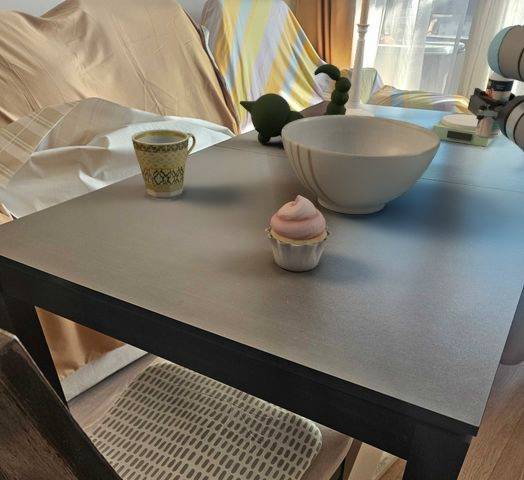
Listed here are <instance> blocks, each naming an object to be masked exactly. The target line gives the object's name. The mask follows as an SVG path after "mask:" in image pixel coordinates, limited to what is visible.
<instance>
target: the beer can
mask: <svg viewBox="0 0 524 480" xmlns="http://www.w3.org/2000/svg"><path fill="white" fill-rule="evenodd" d="M514 83H515V80H514V79H507V78H504V77H503V76H501V75H499V74H497V73H495V72H494V71H492V73H491V74H490V76H489V77H488V81H487V84H486V88H485V91H486V92H485V93H487V94H488V95H487V97H490V98H493V99H495V100H506V101H509V97H510V94H511V93H512V91H513V87H514ZM500 132H501V131H500V128H499V124H498V121H495V120H493V119H492V116H487V117H486V119H483V120H478V123H477V127H476V131H475V134H476V135H477V136H478V137H480V138H485V139H493V138H494V139H496V138H497V137H499V135H500ZM494 139H493V140H494Z"/></svg>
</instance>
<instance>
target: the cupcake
mask: <svg viewBox="0 0 524 480" xmlns="http://www.w3.org/2000/svg"><path fill="white" fill-rule="evenodd" d="M269 224H270V226H269V227H267V228H265V229H264V231H265V232H266V234H267V238H268V240H269V241H270V244H271V248H272V253H273V258H274V262H275V263H276V265H277V266H278V267H280V268H281V269H284V270H286V271H289V272H306V271H307V272H308V271H310V270H313V269H315V268H316V267H317V266H318V265H319V262H320V260H321V256H322V254H323V251H324V248H325V246H326V244H327V243H328V240H329V239H330V237H331V235H332V232H331V231H329V226H328V225H327V223H326V219H325V217H324V215H323V213H322V212H321V211H320V210H319V209H318V208H317V207H315V205H314V204H313V202H311V200H309V199H308V198H306V197H304V196H303V195H300V194H298V195H297V196H296V198H295V200H294V201H289V202H287V203H285V204H283V206H281V207H280V209H279V210H278V211H277V212H276V213H274V214H273V215H272V217H271V219H270V223H269Z"/></svg>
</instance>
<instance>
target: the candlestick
mask: <svg viewBox="0 0 524 480" xmlns="http://www.w3.org/2000/svg"><path fill="white" fill-rule="evenodd" d="M370 3H371V0H361V8H360V15H359V23H356V26H357V34H358V38H357V40H356V41H357V43H356V48H355V53H354V61H353V67H352V72H351V73H352V74H351V80H350V82H351V84H352V85H351V88H350V90H349V91H348V94H349V99H348V102H347V103H346V104H345V105H344V106H345V108H346V113H345V115H361V116H373V117H375V114H374V113H373V112H372V111H371V110H369V109H367V108H365V107H362V106H361V93H362V82H363V70H364V69H363V68H364V57H365V46H366V45H365V43H366V39H365V37H366V34H367V33H368V29H369V26H371V24H370V23H368V20H369V11H370Z"/></svg>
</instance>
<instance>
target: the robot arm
mask: <svg viewBox="0 0 524 480" xmlns="http://www.w3.org/2000/svg"><path fill="white" fill-rule="evenodd" d="M489 43H490V44H489V46H488V49H487V55H486V56H487V57H486V58H487V65H488V66H489V69H491V71H492V72H495V73H497V74H499V75H501V76H503V77H504V78H507V79H514V81H517V82H521V83H524V24H516V25H514V24H513V25H509V26H506V27H504V28H502V29H500V30H499V31H498V32H497V33H496V34H495V35H494V37H492V39H491V42H489ZM485 92H486V90H482V89H481V88H480V87H475V88H474V90H473V94H471V95H469V102H468V104H467V110H468V111H469V112H471V113H472V115H475V116H477V118H476V119H478V120H483V119H486V117H487V116H492V119H493V120H495V121H498V124H499V128H500V132H501V134H502V135H503V136H504V137H505V138H507V139H508V140H509V141H510V142H512V143H513V144H514V145H516V146H517V147H518V148H519V149H520V150H521V151H522V152H523V153H524V94H521V95H516V94H515V93H513V92H511V94H510V97H509V101H506V100H495V99H493V98H490V97H487V95H488V94H487V93H485Z"/></svg>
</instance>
